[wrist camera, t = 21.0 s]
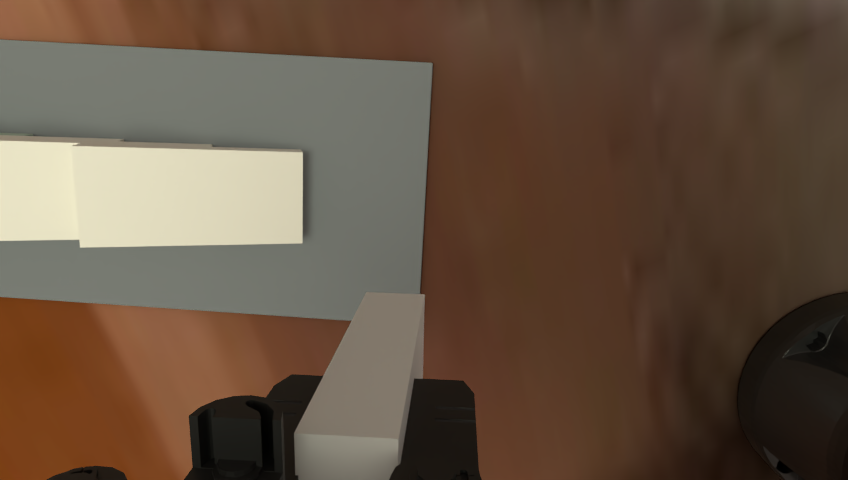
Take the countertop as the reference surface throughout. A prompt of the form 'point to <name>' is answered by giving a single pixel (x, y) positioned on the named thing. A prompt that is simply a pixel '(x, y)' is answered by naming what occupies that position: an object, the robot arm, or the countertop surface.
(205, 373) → the countertop surface
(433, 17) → the countertop surface
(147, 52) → the domino mat
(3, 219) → the ivory domino
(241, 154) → the ivory domino
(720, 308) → the countertop surface
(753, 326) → the countertop surface
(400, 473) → the robot arm
